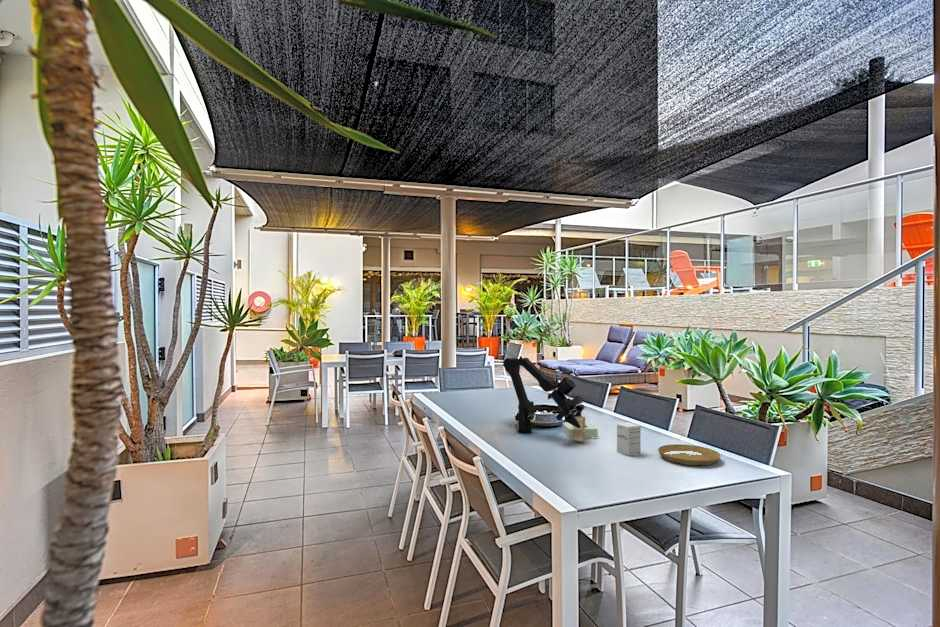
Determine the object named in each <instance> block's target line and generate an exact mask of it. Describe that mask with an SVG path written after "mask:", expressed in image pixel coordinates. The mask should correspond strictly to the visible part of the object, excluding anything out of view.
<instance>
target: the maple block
mask: <svg viewBox="0 0 940 627" xmlns="http://www.w3.org/2000/svg"><path fill="white" fill-rule="evenodd" d="M575 419H576V420H577V422H578V423H579V425H580V428H577V427H575V426H574V438H573V441H574V442H580V443H581V442H584V441H586V438H585V422H586V416H582V415H581V416H576V417H575Z"/></svg>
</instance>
